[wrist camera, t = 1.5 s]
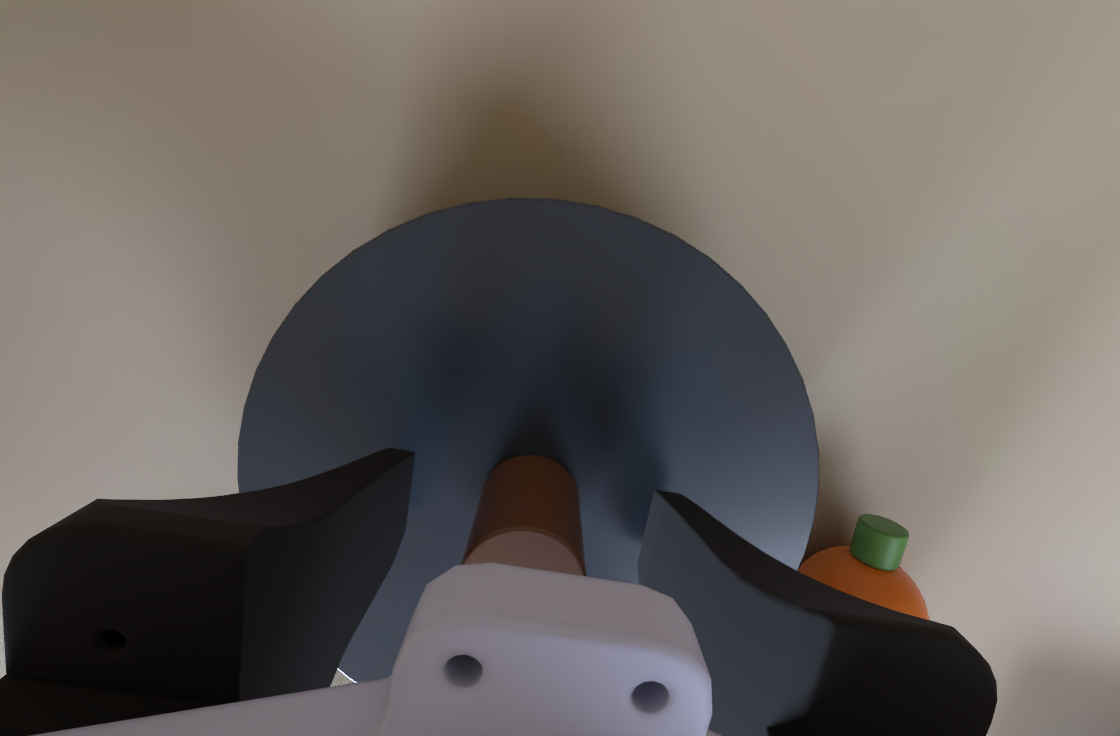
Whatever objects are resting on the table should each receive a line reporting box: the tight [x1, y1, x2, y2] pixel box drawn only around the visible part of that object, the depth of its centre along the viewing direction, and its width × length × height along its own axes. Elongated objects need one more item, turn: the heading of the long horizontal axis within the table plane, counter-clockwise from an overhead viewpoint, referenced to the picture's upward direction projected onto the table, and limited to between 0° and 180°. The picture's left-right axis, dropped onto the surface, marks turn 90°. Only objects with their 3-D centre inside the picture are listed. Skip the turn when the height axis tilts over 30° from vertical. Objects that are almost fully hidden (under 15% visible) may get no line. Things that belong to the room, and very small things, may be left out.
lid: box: [238, 198, 819, 683], centre depth 13 cm, size 14×14×5 cm
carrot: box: [798, 514, 929, 620], centre depth 19 cm, size 10×4×4 cm, turn 170°
